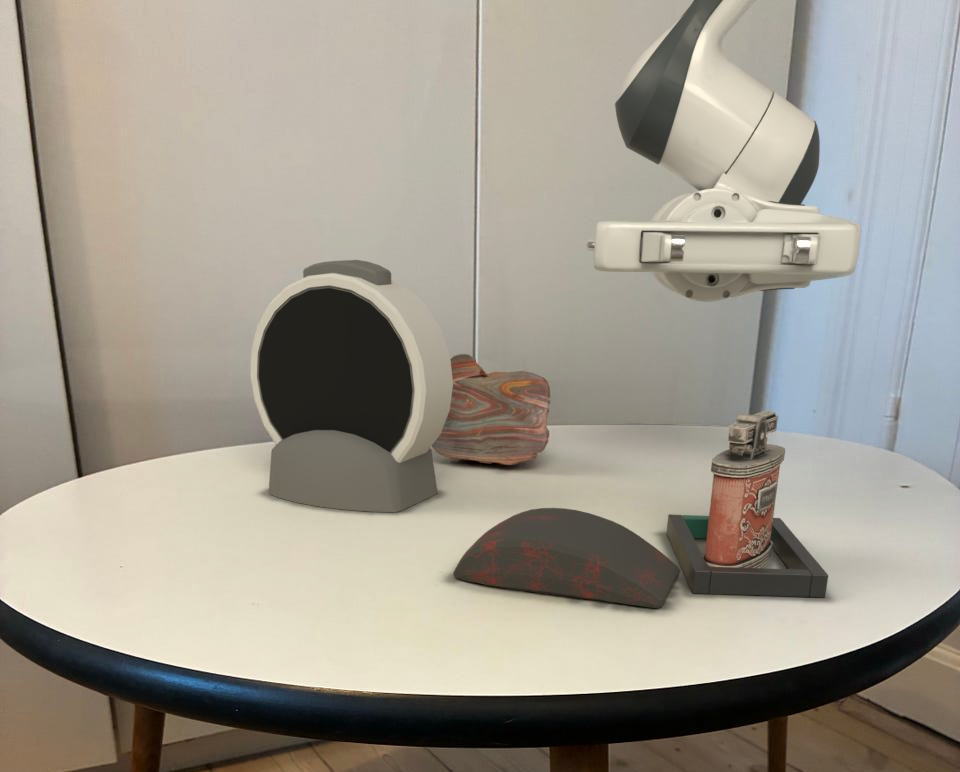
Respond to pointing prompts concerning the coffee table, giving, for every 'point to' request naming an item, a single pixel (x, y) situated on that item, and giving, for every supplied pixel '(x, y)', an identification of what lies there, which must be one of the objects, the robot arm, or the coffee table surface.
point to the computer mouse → (570, 559)
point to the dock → (794, 581)
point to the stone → (494, 415)
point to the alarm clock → (351, 389)
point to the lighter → (744, 494)
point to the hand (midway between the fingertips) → (740, 249)
